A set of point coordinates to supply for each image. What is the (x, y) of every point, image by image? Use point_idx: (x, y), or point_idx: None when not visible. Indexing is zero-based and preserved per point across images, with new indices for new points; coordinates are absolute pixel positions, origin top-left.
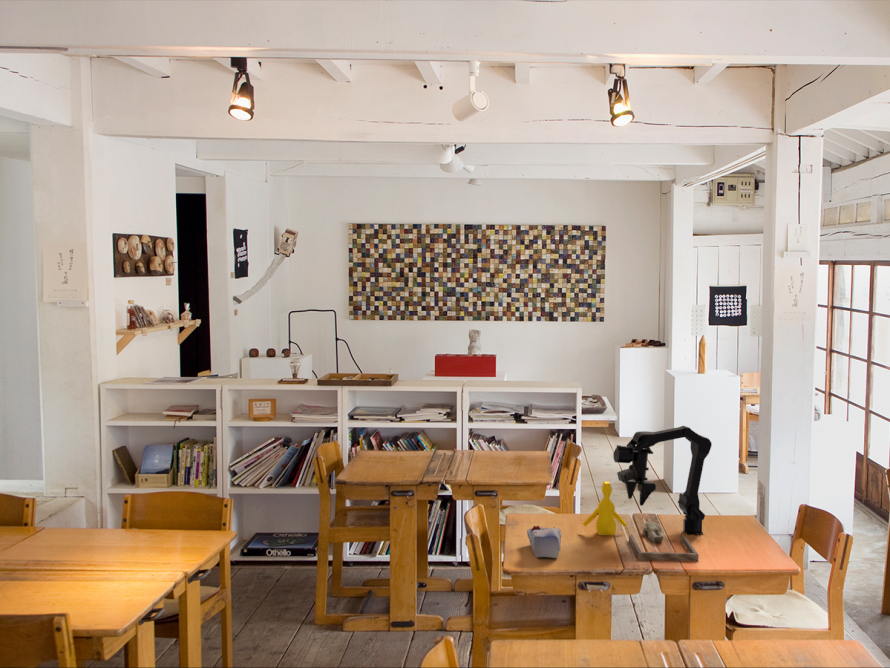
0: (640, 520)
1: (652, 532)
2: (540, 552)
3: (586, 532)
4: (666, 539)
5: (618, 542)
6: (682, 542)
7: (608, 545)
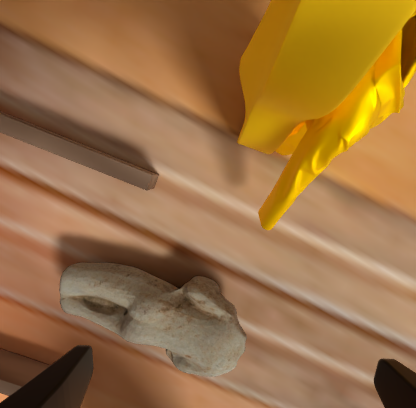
0: None
1: (119, 293)
2: None
3: None
4: None
5: (149, 111)
6: None
7: (124, 38)
